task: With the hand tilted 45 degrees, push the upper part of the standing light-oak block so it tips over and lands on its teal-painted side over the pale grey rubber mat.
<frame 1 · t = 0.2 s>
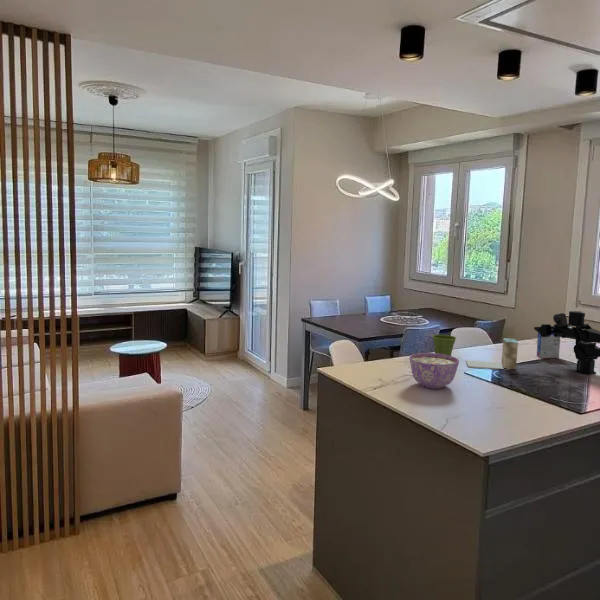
hand: (540, 327, 260), 16 cm above the table, tool horizontal, fingers open, 9 cm apart
plant pot: (442, 359, 262), on the table
oak block: (508, 367, 247), on the table
ink cartridge box: (547, 357, 270), on the table
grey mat: (484, 365, 250), on the table
bowl of food: (432, 386, 216), on the table
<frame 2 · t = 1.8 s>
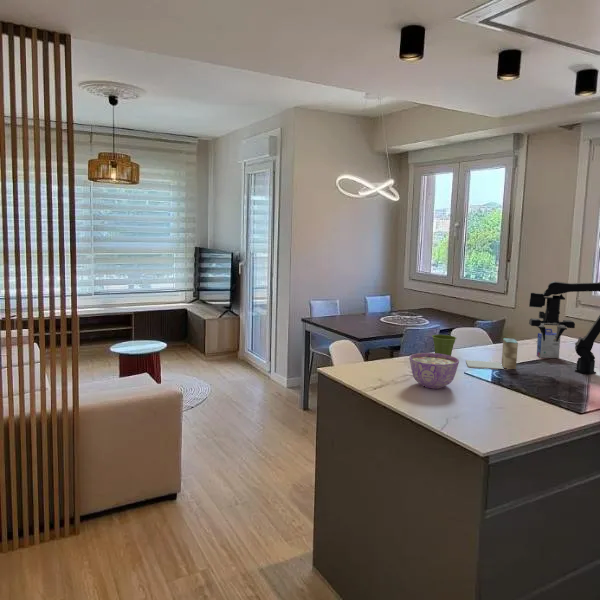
hand: (550, 341, 245), 13 cm above the table, tool pointing down, fingers open, 5 cm apart
nothing on the table moved.
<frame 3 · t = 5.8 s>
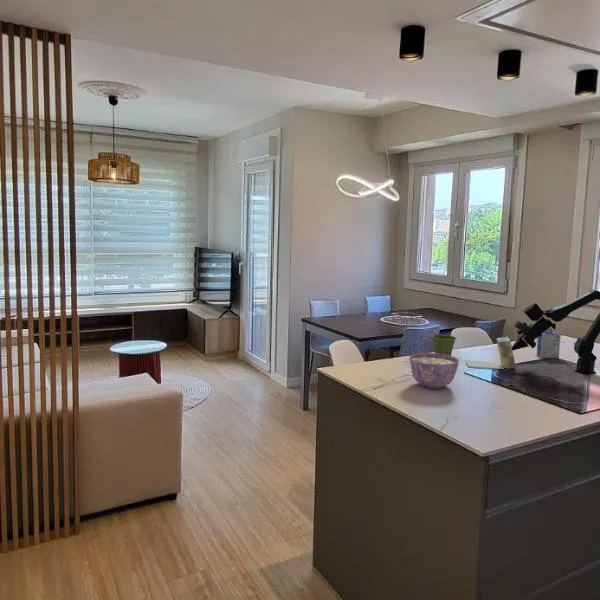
hand: (511, 349, 246), 8 cm above the table, tool tilted 45°, fingers closed
oak block: (508, 365, 247), point 1 cm above the table, tilted 14°, touching gripper
everything else where it was.
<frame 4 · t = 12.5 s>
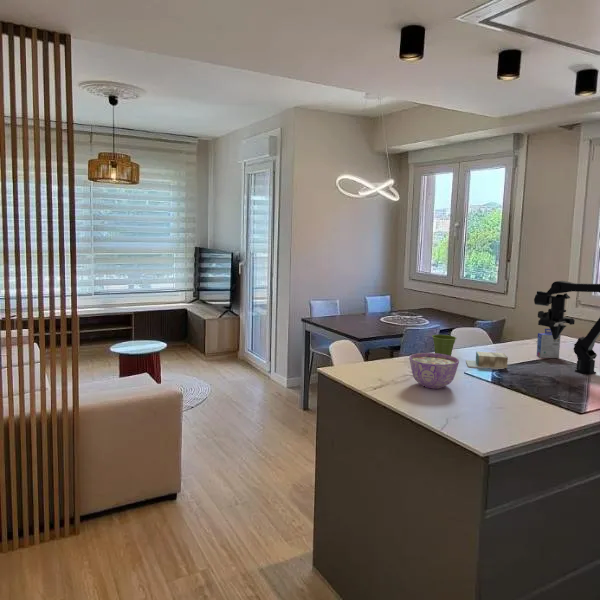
hand: (555, 339, 249), 13 cm above the table, tool pointing down, fingers closed
oak block: (505, 360, 247), point 3 cm above the table, tilted 90°, touching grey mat
everything else where it was.
at the end: oak block tilted 90°; oak block 9.5 cm from the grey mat (horizontally); oak block point 3.1 cm above the table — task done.
